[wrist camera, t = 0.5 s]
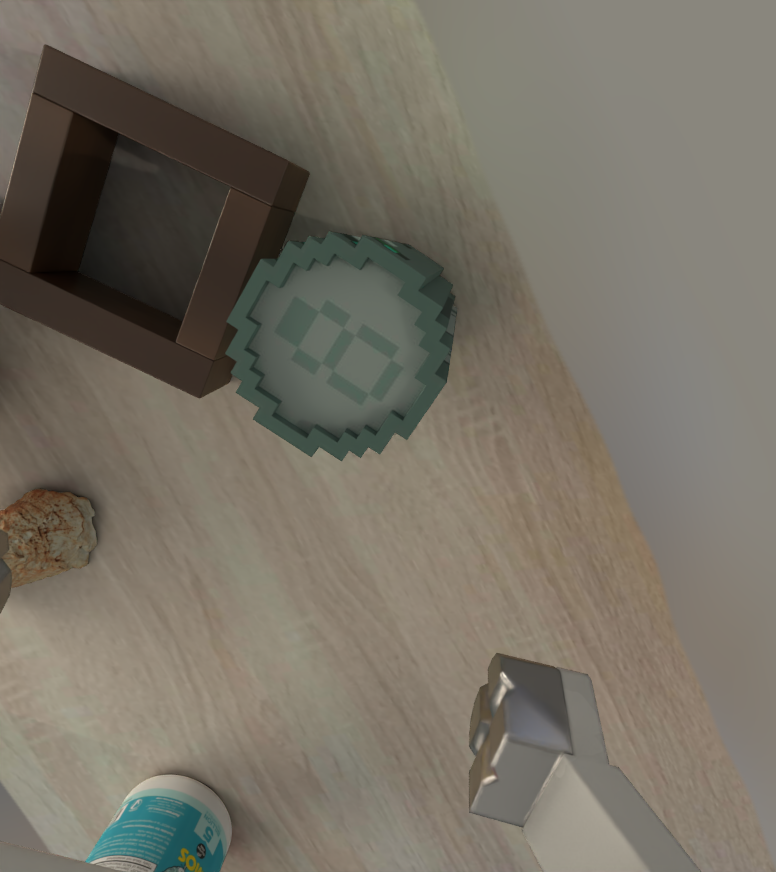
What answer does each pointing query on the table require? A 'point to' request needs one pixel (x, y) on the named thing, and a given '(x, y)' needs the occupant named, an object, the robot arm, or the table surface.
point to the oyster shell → (47, 534)
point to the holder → (76, 205)
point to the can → (343, 342)
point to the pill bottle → (166, 829)
